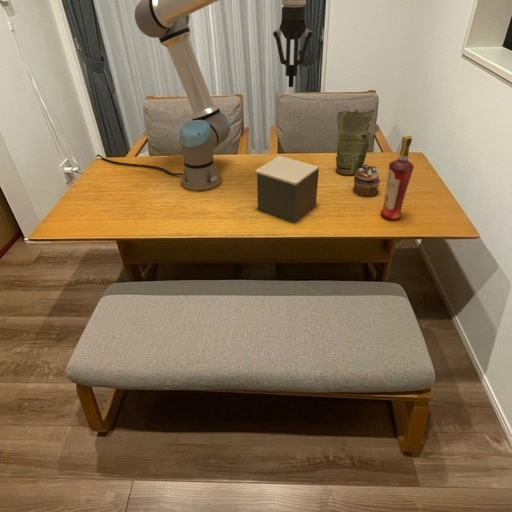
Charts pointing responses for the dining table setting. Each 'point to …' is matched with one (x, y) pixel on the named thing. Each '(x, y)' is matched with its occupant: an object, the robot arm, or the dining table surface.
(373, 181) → the cupcake
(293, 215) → the tote
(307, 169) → the lid
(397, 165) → the liquor
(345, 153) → the pouch
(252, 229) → the dining table surface
